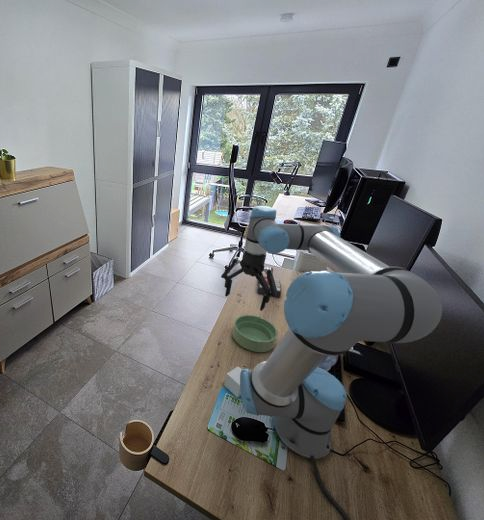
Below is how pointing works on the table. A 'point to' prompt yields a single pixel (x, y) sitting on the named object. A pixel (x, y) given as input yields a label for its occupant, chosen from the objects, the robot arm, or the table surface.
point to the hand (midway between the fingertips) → (244, 301)
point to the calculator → (260, 289)
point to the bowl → (254, 333)
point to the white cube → (233, 381)
